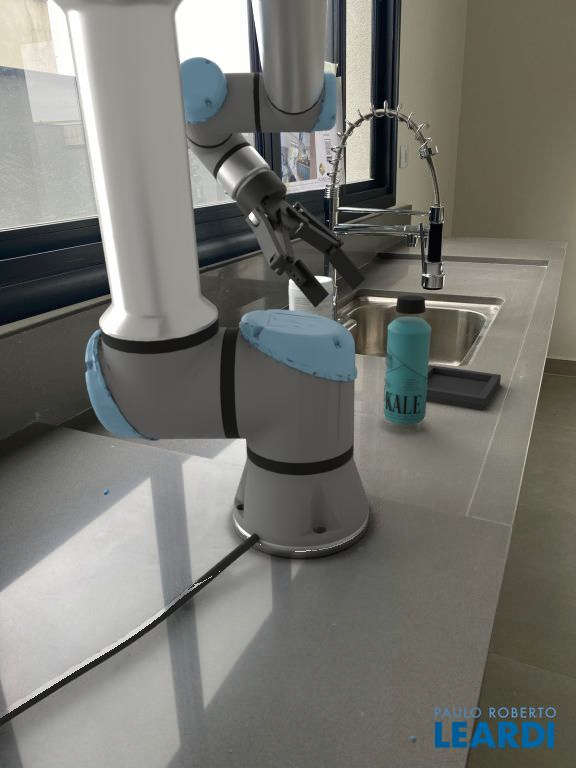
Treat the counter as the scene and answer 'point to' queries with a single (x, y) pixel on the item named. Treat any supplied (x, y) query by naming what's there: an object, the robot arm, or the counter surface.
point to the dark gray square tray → (461, 387)
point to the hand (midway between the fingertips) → (342, 292)
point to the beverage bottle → (407, 363)
